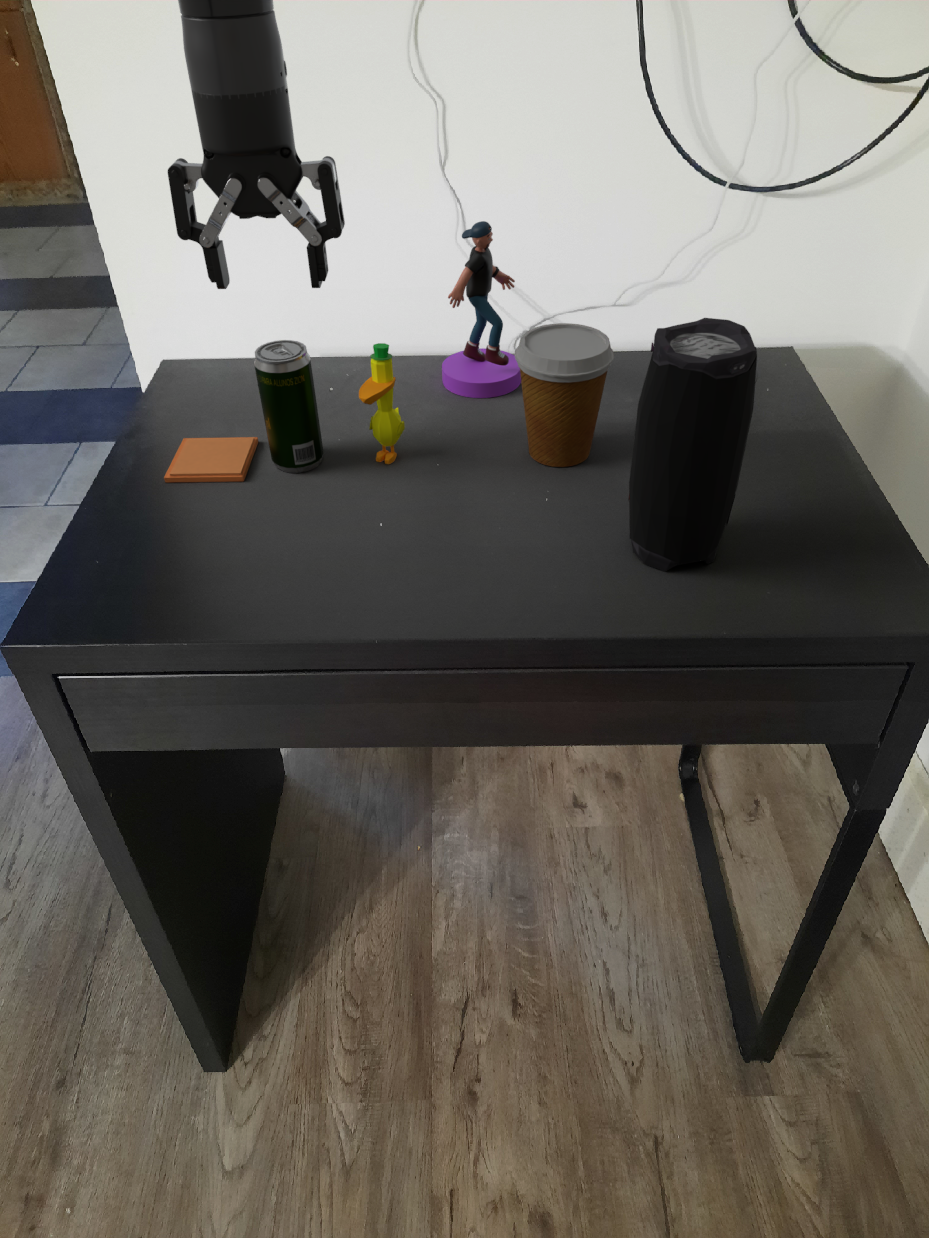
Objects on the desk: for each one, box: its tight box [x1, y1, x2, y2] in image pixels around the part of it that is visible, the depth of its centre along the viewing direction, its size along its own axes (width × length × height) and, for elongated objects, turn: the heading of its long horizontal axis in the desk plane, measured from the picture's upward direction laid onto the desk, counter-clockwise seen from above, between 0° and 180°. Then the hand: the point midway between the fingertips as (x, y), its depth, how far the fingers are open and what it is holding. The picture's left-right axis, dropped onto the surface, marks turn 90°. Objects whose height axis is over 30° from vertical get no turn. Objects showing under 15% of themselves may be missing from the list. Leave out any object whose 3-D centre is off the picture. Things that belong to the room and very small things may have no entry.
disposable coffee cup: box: [514, 322, 615, 468], centre depth 90 cm, size 10×10×12 cm
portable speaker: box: [627, 317, 758, 572], centre depth 74 cm, size 9×9×20 cm
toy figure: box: [358, 342, 406, 465], centre depth 89 cm, size 7×4×12 cm, turn 156°
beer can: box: [253, 339, 325, 474], centre depth 90 cm, size 5×5×12 cm
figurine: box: [441, 220, 522, 399], centre depth 101 cm, size 9×9×18 cm
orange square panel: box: [163, 436, 259, 483], centre depth 93 cm, size 8×8×1 cm
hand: (270, 285), depth 82 cm, fingers open, 8 cm apart
